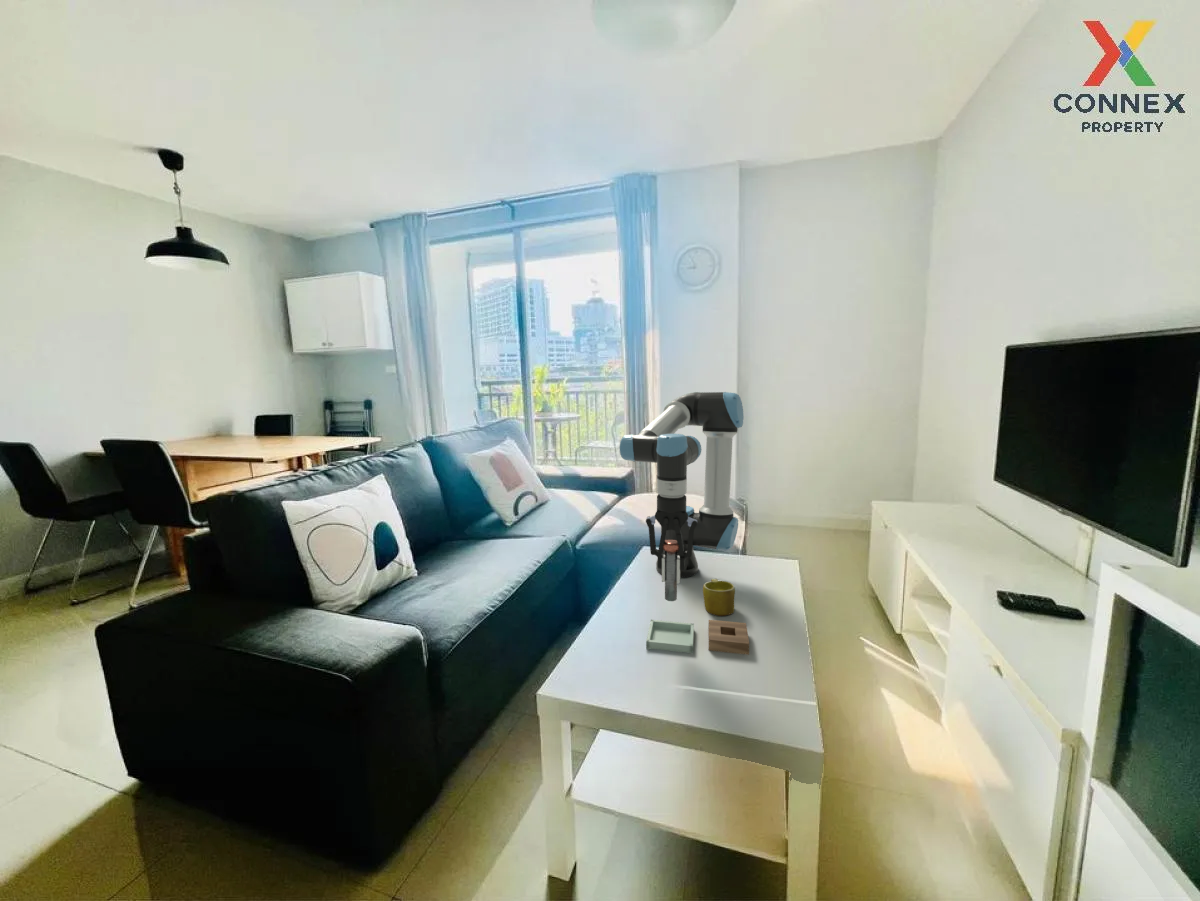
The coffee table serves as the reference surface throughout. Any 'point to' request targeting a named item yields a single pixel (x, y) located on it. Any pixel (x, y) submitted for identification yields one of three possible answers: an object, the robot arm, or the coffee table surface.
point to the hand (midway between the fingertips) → (670, 580)
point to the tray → (670, 636)
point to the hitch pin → (670, 569)
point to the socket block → (728, 637)
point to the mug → (719, 597)
